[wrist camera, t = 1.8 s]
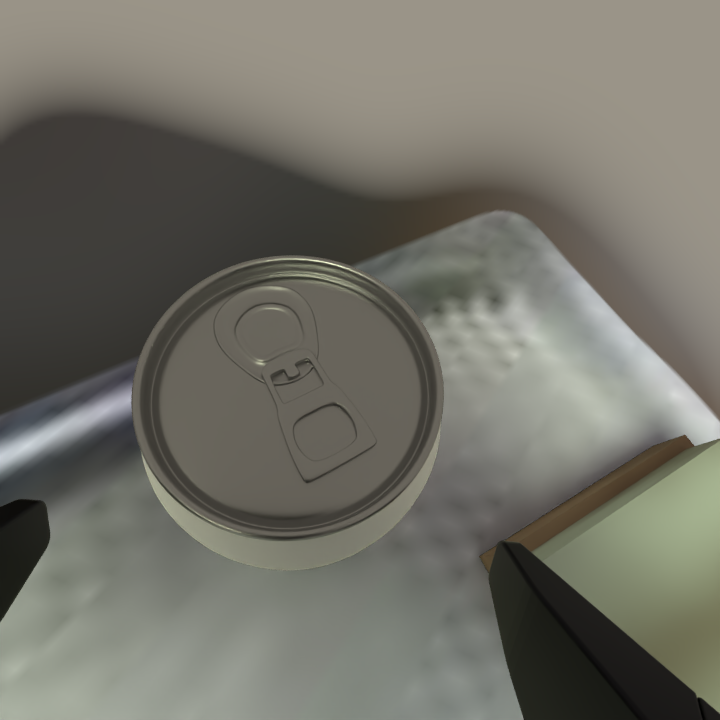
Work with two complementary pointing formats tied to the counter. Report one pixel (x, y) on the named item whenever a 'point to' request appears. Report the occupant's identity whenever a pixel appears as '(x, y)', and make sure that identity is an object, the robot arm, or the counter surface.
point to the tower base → (647, 555)
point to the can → (288, 411)
